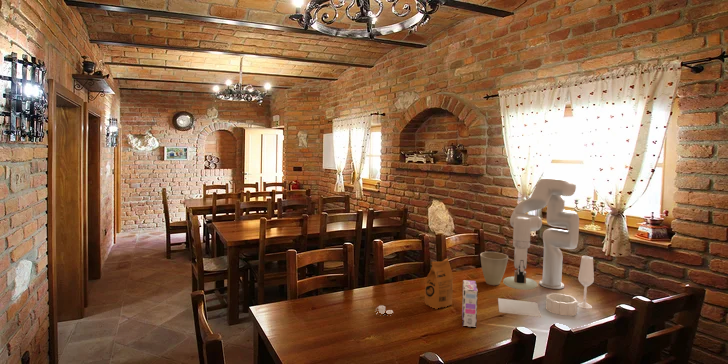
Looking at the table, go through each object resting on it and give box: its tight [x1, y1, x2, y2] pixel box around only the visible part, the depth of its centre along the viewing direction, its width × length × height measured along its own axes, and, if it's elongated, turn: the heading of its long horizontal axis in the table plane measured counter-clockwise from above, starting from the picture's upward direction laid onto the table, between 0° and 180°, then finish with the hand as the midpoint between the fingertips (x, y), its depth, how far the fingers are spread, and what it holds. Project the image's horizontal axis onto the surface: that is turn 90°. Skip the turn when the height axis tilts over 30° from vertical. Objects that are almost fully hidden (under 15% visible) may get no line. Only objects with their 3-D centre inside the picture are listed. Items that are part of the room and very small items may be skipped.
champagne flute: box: [577, 255, 595, 309], centre depth 204 cm, size 7×7×24 cm
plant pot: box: [479, 251, 509, 286], centre depth 236 cm, size 15×15×16 cm
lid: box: [502, 269, 538, 291], centre depth 200 cm, size 15×15×6 cm
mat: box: [497, 297, 542, 318], centre depth 201 cm, size 18×18×1 cm
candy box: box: [461, 279, 479, 328], centre depth 185 cm, size 14×6×16 cm, turn 168°
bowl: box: [545, 292, 579, 317], centre depth 199 cm, size 13×13×6 cm
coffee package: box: [424, 258, 454, 310], centre depth 204 cm, size 10×12×22 cm
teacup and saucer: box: [375, 305, 394, 315], centre depth 192 cm, size 9×8×4 cm
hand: (520, 281), depth 200 cm, fingers closed on lid, 3 cm apart
